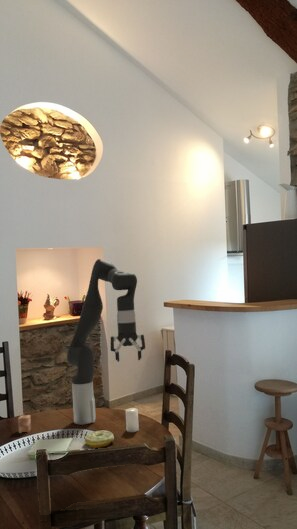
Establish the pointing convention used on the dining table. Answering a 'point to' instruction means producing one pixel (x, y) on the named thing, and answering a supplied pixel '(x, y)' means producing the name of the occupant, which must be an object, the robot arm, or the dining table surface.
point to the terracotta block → (24, 423)
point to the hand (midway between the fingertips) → (128, 360)
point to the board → (51, 445)
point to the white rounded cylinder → (132, 420)
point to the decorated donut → (99, 439)
